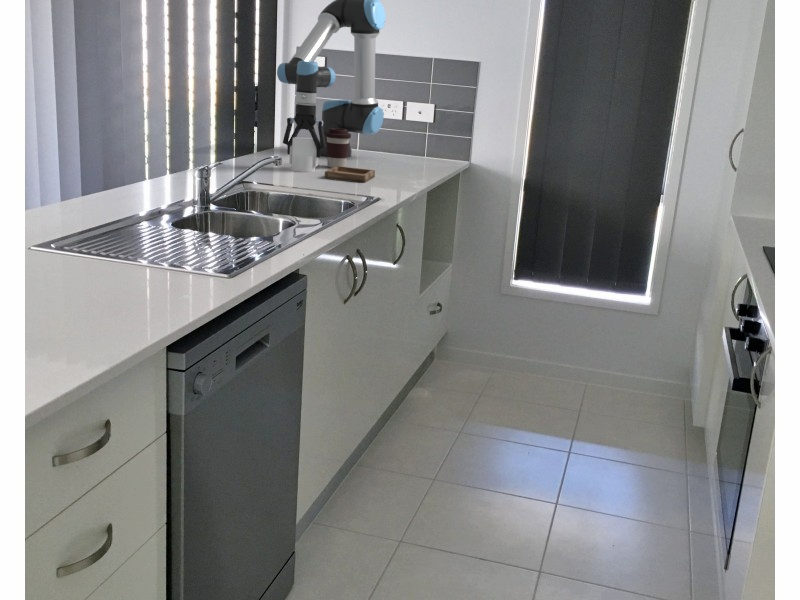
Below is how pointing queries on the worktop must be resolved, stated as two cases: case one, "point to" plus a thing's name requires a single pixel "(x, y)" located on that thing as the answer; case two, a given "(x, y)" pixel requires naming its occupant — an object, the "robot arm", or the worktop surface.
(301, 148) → the white box
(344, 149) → the coffee cup
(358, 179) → the tray
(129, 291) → the worktop surface
